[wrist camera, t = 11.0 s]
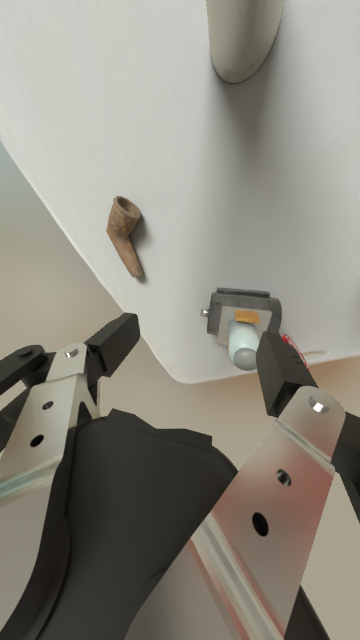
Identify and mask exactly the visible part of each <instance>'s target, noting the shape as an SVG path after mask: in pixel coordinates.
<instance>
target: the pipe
mask: <svg viewBox="0 0 360 640" xmlns="http://www.w3.org/2000/svg"><path fill="white" fill-rule="evenodd" d="M113 201H114V204H113V206H112V209H111V212H110V216H109V221H108V226H107V230H106V232H107V234H108V235H109V237H110V239H111V241H112V243H113V245H114V247H115V249H116V251H117V252H118V254H119V256H120V258H121V259H122V261H123V263H124V264H125V266H126V268H127V270H128V271H129V272H130V274H131V275H132V276H133V277H136V276H141V275H142V274H143V271H142V269H141V266H140V263H139V261H138V259H137V256H136V253H135V250H134V248H133V246H132V243H131V241H130V238H129V233H130V232H132V230H133V229H134V227H135V225H136V223H137V222H138V220H139V219H140V216H141V213H140V210H139V209H138V207H137V206H136V205H134V204H133V203H132V202H131V201H129V200H128V199H126V198H124V197H121V196H117V197H116V198H114V200H113Z"/></svg>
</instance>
